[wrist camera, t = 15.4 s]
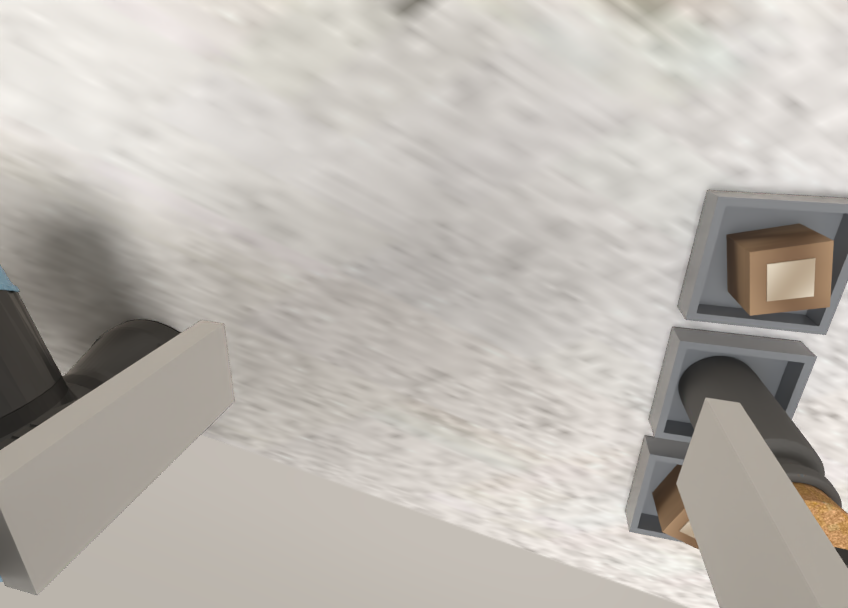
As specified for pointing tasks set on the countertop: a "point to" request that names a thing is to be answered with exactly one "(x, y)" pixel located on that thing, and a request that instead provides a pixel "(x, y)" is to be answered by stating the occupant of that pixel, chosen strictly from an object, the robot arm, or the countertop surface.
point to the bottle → (768, 434)
